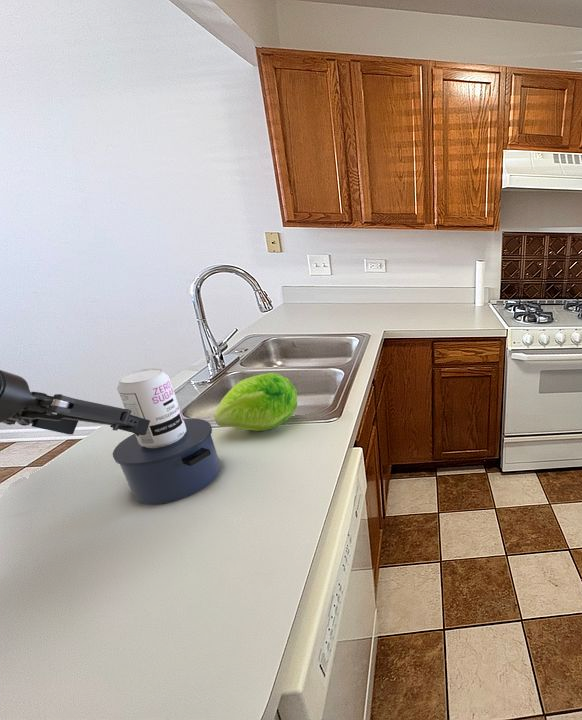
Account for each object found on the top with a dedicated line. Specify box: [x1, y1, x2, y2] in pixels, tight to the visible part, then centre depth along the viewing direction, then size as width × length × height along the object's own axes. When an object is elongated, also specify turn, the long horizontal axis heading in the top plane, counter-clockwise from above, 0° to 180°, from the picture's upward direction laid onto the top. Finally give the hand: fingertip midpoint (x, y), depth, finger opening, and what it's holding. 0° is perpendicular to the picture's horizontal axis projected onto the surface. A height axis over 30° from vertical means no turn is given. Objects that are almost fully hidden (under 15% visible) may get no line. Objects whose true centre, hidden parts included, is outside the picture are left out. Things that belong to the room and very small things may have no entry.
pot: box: [112, 417, 222, 506], centre depth 87 cm, size 20×17×11 cm
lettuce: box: [213, 372, 298, 432], centre depth 107 cm, size 17×20×15 cm
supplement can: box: [116, 367, 186, 448], centre depth 82 cm, size 8×8×15 cm
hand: (110, 427), depth 73 cm, fingers open, 13 cm apart
